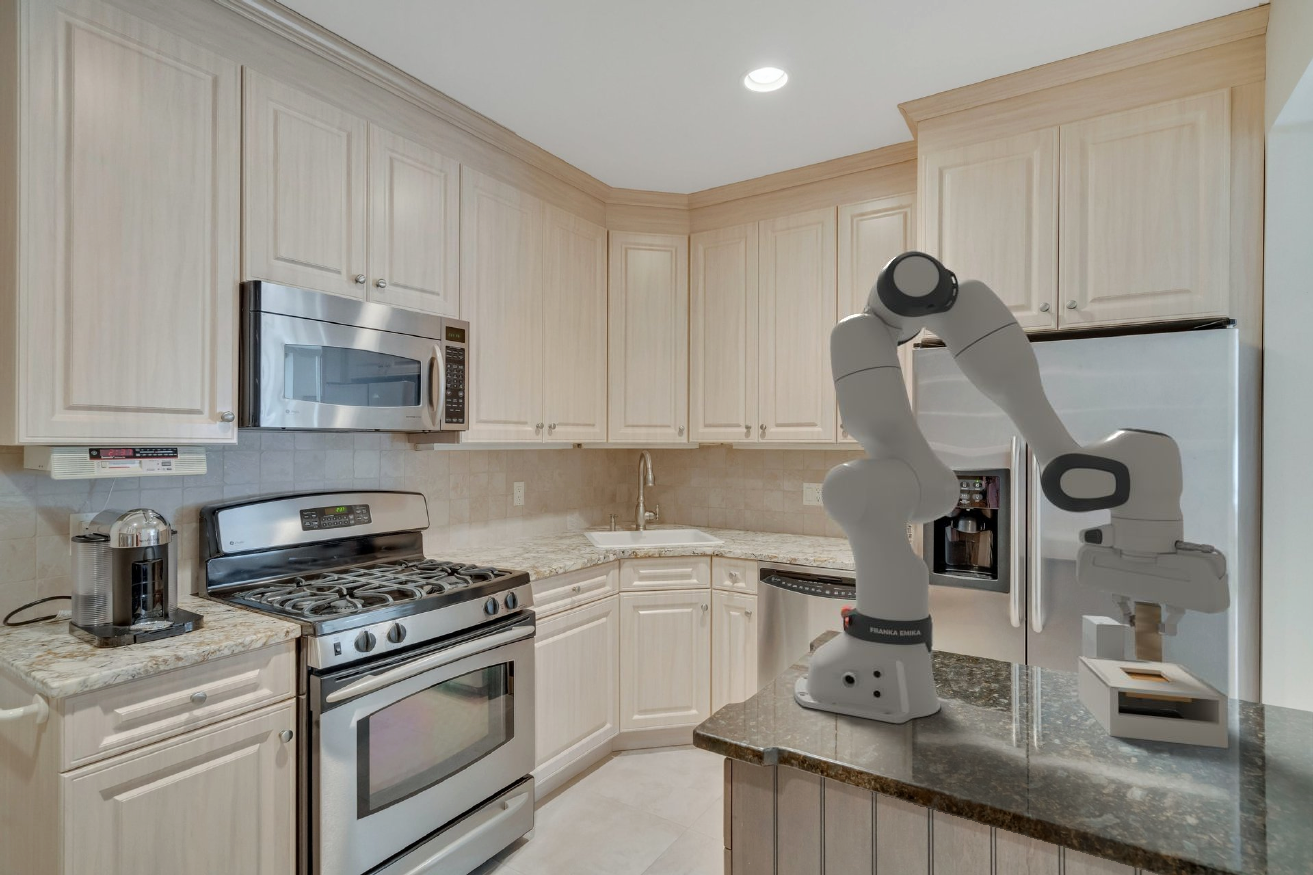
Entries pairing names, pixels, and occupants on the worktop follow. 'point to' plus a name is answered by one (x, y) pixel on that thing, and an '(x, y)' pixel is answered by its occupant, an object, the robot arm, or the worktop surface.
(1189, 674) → the box
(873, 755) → the worktop surface
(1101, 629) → the skincare box
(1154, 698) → the button
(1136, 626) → the brown wooden block
